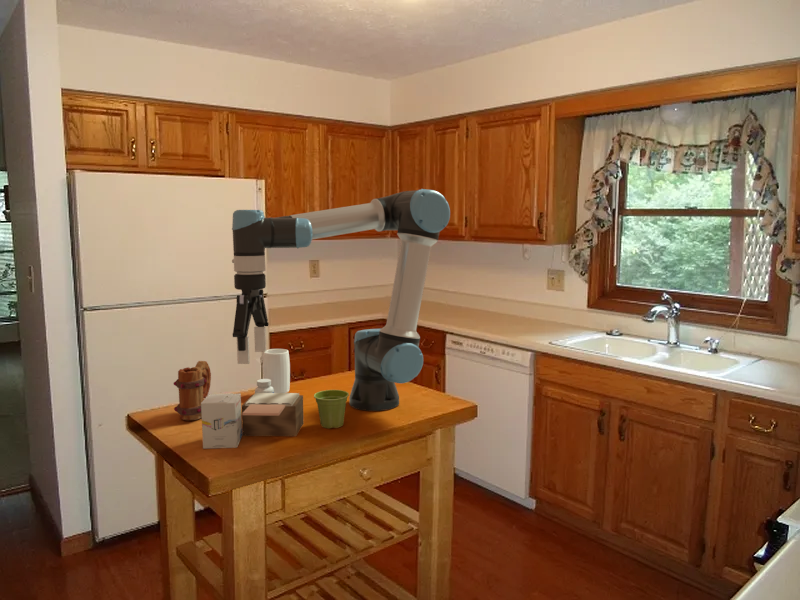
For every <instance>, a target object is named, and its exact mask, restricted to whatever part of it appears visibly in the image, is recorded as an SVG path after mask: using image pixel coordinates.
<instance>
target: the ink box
mask: <svg viewBox="0 0 800 600" xmlns="http://www.w3.org/2000/svg"><path fill="white" fill-rule="evenodd" d="M201 412H202V418H201V427H202V428H201V429H202V449H203V450H204V449H205V450H206V449H233V448H238V446H239V444H240V442H241V439H242V437H243V431H242V396H241V393H239V392H238V393H233V392H231V393H211V394H209V393H208V395H207V397H206V398H204V400H203V401H202V403H201Z"/></svg>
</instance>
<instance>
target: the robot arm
mask: <svg viewBox="0 0 800 600" xmlns="http://www.w3.org/2000/svg"><path fill="white" fill-rule="evenodd" d="M450 219H451V209H450V205H449V202H448V201H447V199H446V198H445V196H444V195H443V194H442V193H440V192H439V191H436V190H434V189H425V188H421V189H418V190H417V189H416V190H406V191H405V190H404V191H400V192H397V193H393V194H390V195H387V196H382V197H379V198H373V199H372V200H371V201H370V202H368V203H362V204H355V205H350V206H349V205H348V206H341V207H336V208H329V209H323V210H317V211H309V212H303V213H296V214H291V215H283V216H277V217H265V215H264V211H263V210H262V209H236V210H235V211H233V212H232V224H231V225H232V226H231V227H232V228H231V230H232V243H233V244H232V246H233V259H232V260H231V262H232V263H233V271H234V272H235V274H233V278H234V279H233V280H234V281H233V283H234V289H235V290H241V295H239V294H237V295H236V305H235V306H236V308H235V316H234V320H233V321H234V322H233V331H232V338H236V350H237V351H236V357H237V364H238V365H249V364H250V336H248V334H249V329H250V323H251V319H253V322H254V325H255V326H254V327H253V331H254V332H253V333H254V335H253V336H254V352H255V353H264V352H266V350H267V349H266V346H267V345H266V344H267V343H266V327H269V324H270V323H269V322H268V321H269V318H268V314H267V309H266V304H265V297H264V289H266V287H267V286H266V285H267V283H266V282H267V281H266V274H265V273H264V272H265V271H266V252H265V251H266V249H300V248H308V247H310V245H311V243H312V241H313V240H316V239H317V240H318V239H324V238H328V237H335V236H340V235H347V234H352V233H358V232H365V231H369V230H375V231H376V232H384V231H385V232H386V231H396V232H397V233H396V235H397V236H398V238H399V239H400V245H399V246H400V247H399V252H398V257H397V263H396V269H395V275H394V279H393V285H392V291H391V296H390V302H389V307H388V313H387V318H386V324H385V325H384V326H383V327H382V328H370V329H369V328H368V329H362V330H357V331H356V332H355V334H354V340H353V345H354V347H353V348H354V382H353V385H352V387H351V391H350V393H349V397H348V399H349V406H350V407H351V408H353V409H356V410H360V411H368V412H369V411H370V412H374V411H375V412H380V411H387V410H392V409H395V408H396V407H398V406H399V404H400V395H399V391H398V389H397V386H396V385H397V384H405V383H409V382H411V381H412V380H413V379H415V378H417V377H418V375H419V374H420V373H421V370H422V368H423V365H424V355H423V353H422V350H421V349H420V347H419V346H420V341H421V336H420V334H419V332H417V328H418V321H419V315H420V310H421V305H422V299H423V295H424V288H425V282H426V277H427V271H428V267H429V262H430V261H429V260H430V258H431V257H430V255H431V250H432V247H433V246H434V245H435V244H437V243H438V242H439V238H440V237H439V236H440V232H441V231H443V230H444V229H445V228H446V227H447V226H448V224H449V221H450Z"/></svg>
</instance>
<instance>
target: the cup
mask: <svg viewBox="0 0 800 600" xmlns="http://www.w3.org/2000/svg"><path fill="white" fill-rule="evenodd" d="M262 353H263V354H262V355H263V357H262V374H263V378H262V379H270V380H271V385H270V386H271V387H273V388H274V393H290V392H289V391H290V387H291V386H290V385H291V383H290V382H291V362H290V354H289V350H288V349H285V348H270V349H266V352H262Z"/></svg>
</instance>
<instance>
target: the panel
mask: <svg viewBox="0 0 800 600" xmlns="http://www.w3.org/2000/svg"><path fill="white" fill-rule="evenodd" d="M284 408H285V405H257V404H250V405H249V406H248V407H247V409H246V410H245V411H244V412H243V413H242V412H241V415H264V416H279V415H280V413H281V412H282V411H283V409H284Z"/></svg>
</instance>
